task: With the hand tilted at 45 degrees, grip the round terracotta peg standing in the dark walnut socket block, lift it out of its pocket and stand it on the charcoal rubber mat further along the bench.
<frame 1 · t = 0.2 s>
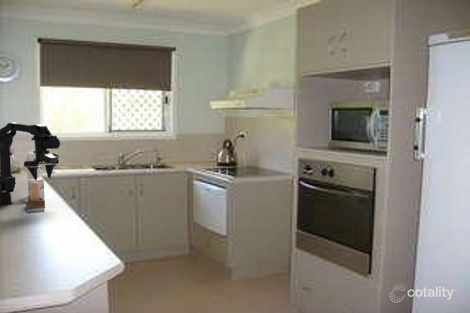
hand: (42, 179, 248), 15 cm above the worktop, tool pointing down, fingers open, 9 cm apart
peg: (35, 194, 249), in the socket block
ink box: (36, 199, 274), on the worktop
skyscraper: (34, 196, 285), on the worktop
mat: (35, 210, 239), on the worktop
socket block: (35, 207, 250), on the worktop
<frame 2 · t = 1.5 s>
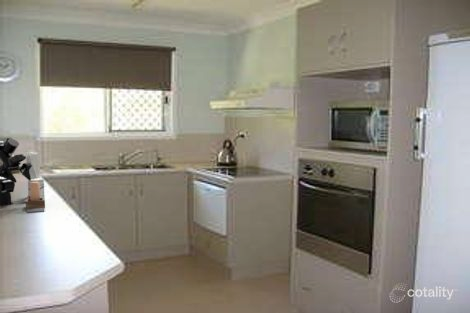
hand: (23, 180, 252), 13 cm above the worktop, tool tilted 45°, fingers open, 9 cm apart
nothing on the worktop moved.
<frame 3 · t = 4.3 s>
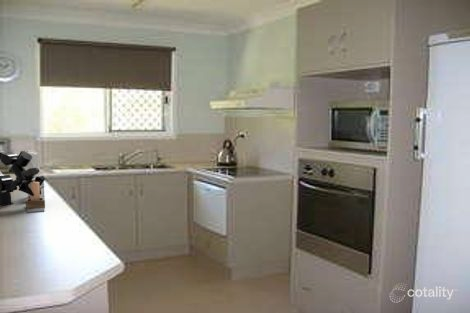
hand: (37, 194, 248), 7 cm above the worktop, tool tilted 45°, fingers closed on peg, 4 cm apart
peg: (35, 194, 249), in the socket block, touching gripper
everything else where it was.
when the fingers open (9 cm above the worktop, at t = 8.5 s): peg drops 1 cm, resting on mat.
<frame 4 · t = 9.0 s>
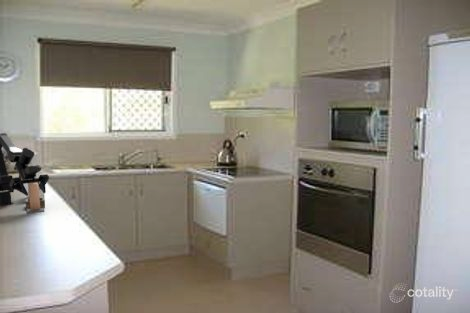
hand: (36, 194, 238), 9 cm above the worktop, tool tilted 45°, fingers open, 9 cm apart
peg: (34, 196, 239), on the mat, point 7 cm above the worktop
everything else where it was.
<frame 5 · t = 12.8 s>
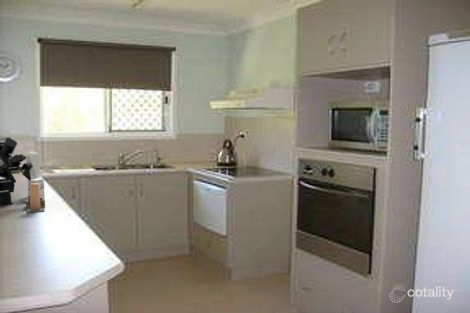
hand: (23, 181, 250), 14 cm above the worktop, tool tilted 45°, fingers open, 9 cm apart
nothing on the worktop moved.
at the end: peg 0.1 cm off-centre on the mat, point 7.1 cm above the mat's base; peg tilted 1°; the gripper is holding nothing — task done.
